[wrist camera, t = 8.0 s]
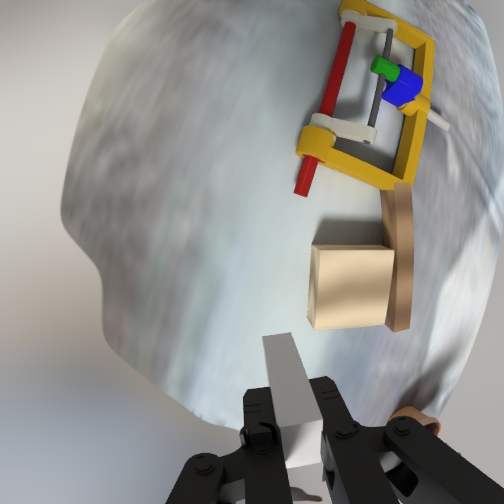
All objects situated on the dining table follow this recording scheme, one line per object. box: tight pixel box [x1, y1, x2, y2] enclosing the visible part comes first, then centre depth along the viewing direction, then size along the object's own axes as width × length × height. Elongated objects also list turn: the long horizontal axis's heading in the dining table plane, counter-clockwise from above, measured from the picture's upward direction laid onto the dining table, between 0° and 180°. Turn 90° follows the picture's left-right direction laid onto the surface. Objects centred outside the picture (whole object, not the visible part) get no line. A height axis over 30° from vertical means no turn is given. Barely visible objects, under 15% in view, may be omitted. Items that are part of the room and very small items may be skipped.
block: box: [307, 245, 395, 330], centre depth 32 cm, size 9×9×4 cm
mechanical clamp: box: [294, 0, 450, 197], centre depth 26 cm, size 18×6×30 cm
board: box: [380, 183, 414, 332], centre depth 31 cm, size 18×2×4 cm, turn 7°
